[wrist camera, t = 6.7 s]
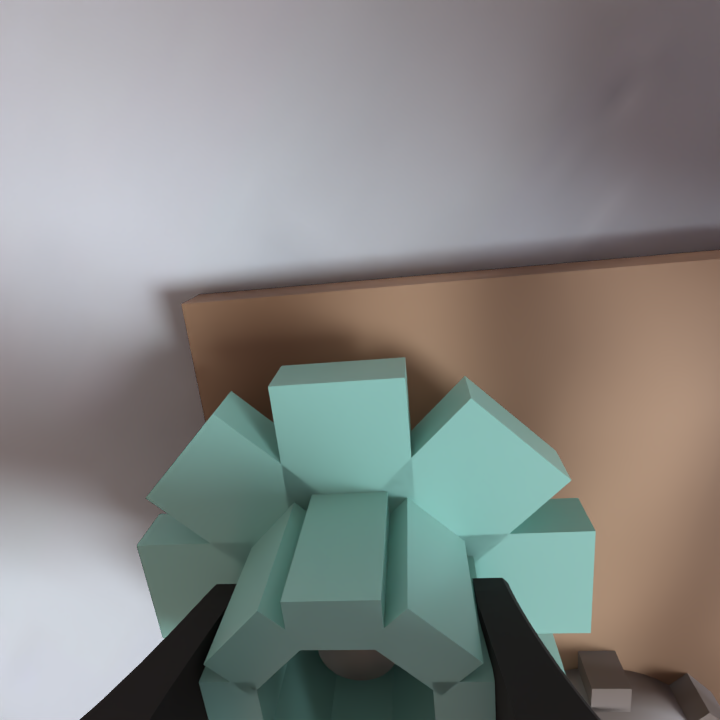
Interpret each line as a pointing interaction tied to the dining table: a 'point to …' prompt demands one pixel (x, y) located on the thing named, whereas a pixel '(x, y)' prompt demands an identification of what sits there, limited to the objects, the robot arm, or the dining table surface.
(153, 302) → the dining table surface
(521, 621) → the robot arm
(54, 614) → the dining table surface
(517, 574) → the teal gear
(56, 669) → the dining table surface
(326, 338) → the gear board
